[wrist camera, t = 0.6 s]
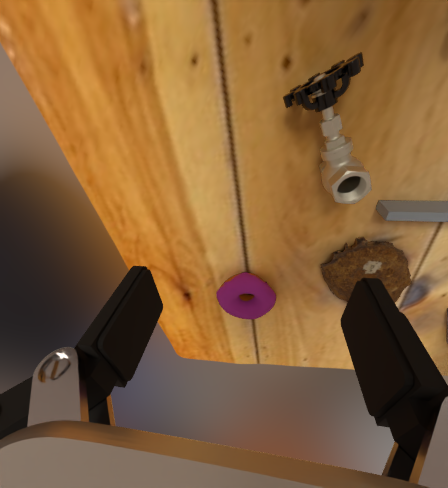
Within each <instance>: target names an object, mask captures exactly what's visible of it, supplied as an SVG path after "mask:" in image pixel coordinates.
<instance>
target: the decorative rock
mask: <svg viewBox="0 0 448 488" xmlns="http://www.w3.org/2000/svg"><path fill="white" fill-rule="evenodd" d="M392 244H393V243H389V242H384V243H383V242H377V241H375V242H372V241H370V242H368V241H367V240H365V238H364V237H358V238H356V239H355V245H353V246H348V244H347V243H346V244H345V250H344V251H343V252H340V251H337V252H334V253H333V254H334V258H333V260H332V261H330V262H329V263H325V264H322V265H321V268H322V270H323V277H324V279H325V281H326V282H327V284H328V286H329V288H330V290H331V291H333V294H335V295H336V296H337V297H338V298H340V299H342V300H346V301H347V302H348V301H349V298H350V296H351V293H352V291H353V289H354V286H355V284H356V282H357V281H360V280H361V279H362V278H379V279H380V280H381V281H382V283H383V284H384V286H385V288H386V289H387V291H388V293H389V295H390V296H391V298H392V300H393V301H394V303H395V302H396V301H397V300H398V298H399V297H400V295H401V293H402V291H403V290H404V288H406V287H407V286H409V285H410V284H411V279H410V276H411V275H410V273H409V269H408V262H407V260H406V258H405V256H404V254H403V251H402V250H398V249H397V248H395V247H393V245H392Z"/></svg>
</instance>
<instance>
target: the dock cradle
mask: <svg viewBox="0 0 448 488" xmlns="http://www.w3.org/2000/svg"><path fill="white" fill-rule="evenodd" d="M376 210H377V211H378V212H379V213H380V215H381V216H382V217H383V218H384V219H385V220H388V221H431V222H448V201H395V200H379V201H378V204H377V206H376Z"/></svg>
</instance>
